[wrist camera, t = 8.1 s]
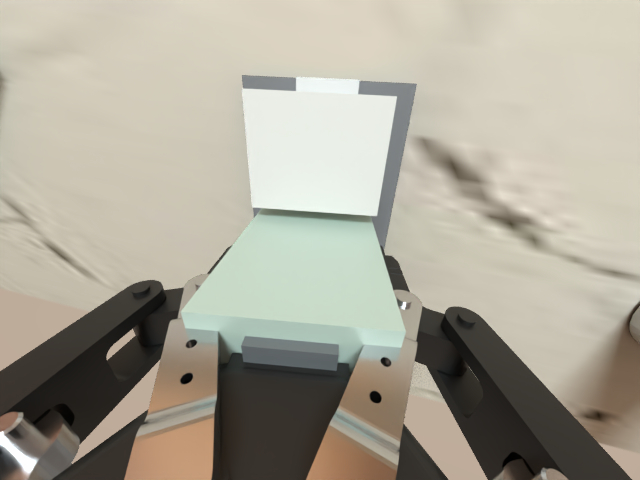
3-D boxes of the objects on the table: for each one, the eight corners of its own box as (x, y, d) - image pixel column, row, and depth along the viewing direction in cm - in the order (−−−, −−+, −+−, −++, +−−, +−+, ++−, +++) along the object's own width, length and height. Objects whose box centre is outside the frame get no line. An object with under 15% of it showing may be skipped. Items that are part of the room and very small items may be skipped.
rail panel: (411, 85, 15) (473, 64, 8) (370, 300, 23) (383, 382, 16) (248, 77, 15) (173, 50, 8) (264, 291, 23) (233, 367, 16)
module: (369, 210, 13) (408, 342, 6) (358, 279, 15) (376, 440, 8) (265, 202, 13) (173, 320, 6) (269, 272, 15) (205, 422, 8)
